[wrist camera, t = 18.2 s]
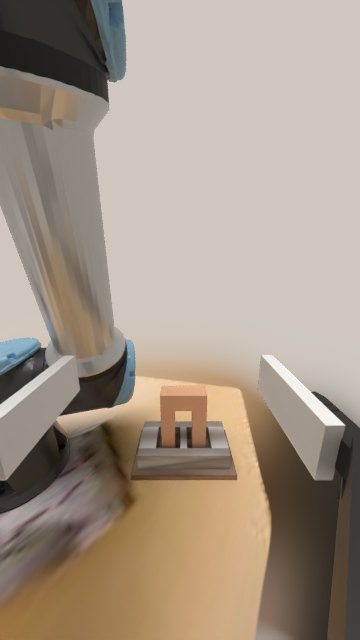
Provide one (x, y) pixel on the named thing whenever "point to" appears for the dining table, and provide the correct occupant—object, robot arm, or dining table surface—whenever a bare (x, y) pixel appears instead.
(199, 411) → the tan arch block
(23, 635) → the dining table surface
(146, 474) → the grey socket block
